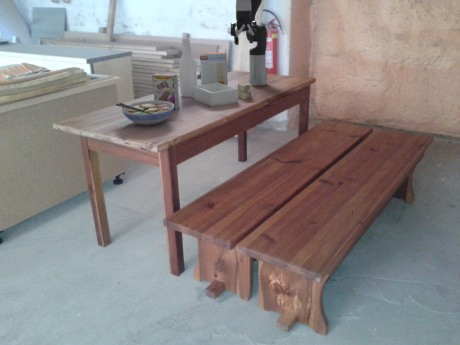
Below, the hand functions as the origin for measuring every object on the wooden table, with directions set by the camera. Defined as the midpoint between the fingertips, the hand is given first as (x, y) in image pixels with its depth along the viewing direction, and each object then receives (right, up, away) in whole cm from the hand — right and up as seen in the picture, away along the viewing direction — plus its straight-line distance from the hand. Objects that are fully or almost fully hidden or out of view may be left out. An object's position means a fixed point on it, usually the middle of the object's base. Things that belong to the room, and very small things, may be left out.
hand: (244, 44), depth 226 cm
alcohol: (-29, -23, +18) cm, 41 cm away
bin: (-14, -28, +5) cm, 32 cm away
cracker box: (-15, -19, +25) cm, 35 cm away
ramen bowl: (-42, -43, -28) cm, 66 cm away
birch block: (+1, -25, +11) cm, 27 cm away
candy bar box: (-37, -33, -6) cm, 50 cm away
